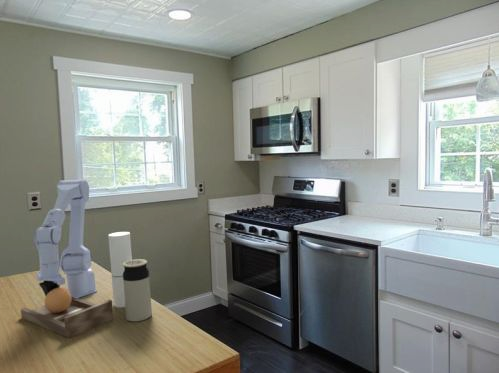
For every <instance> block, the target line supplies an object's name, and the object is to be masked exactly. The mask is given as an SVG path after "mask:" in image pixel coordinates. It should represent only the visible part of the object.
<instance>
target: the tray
mask: <svg viewBox="0 0 499 373" xmlns="http://www.w3.org/2000/svg"><path fill="white" fill-rule="evenodd" d="M71 297H72V296H71ZM20 316H21V317H20V318H21V319H23V320H25V321H28V322H31V323H33V324H35V325H37V326H39V327H42V328H44V329H46V330H49V331H51V332H53V333H55V334H58V335H60V336H63V337H65V338H67V339H70V338H72V337H75V336H77V335H79V334H82V333H83V332H84V333H85V332H87V331H89V330H91V329H93V328H96V327H97V326H100V325H102V324H105V323H106V322H108V321H111V320H113V319H114V309H113V300H112V299H107V300H105V301H104V300H103V301H101V302H98V303H93V302H90V301H88V300H84V299H80V298H75V297H72V301H71V304H70V306H69V307H68V308H67V309H66V310H65V311H63V312H60V313H53V312H50V311H49V310H48V309H47V308H46V306H45V304H44V305H41V306H38V307H35V308H33V309H30V308H28V307H23V308H20Z"/></svg>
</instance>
